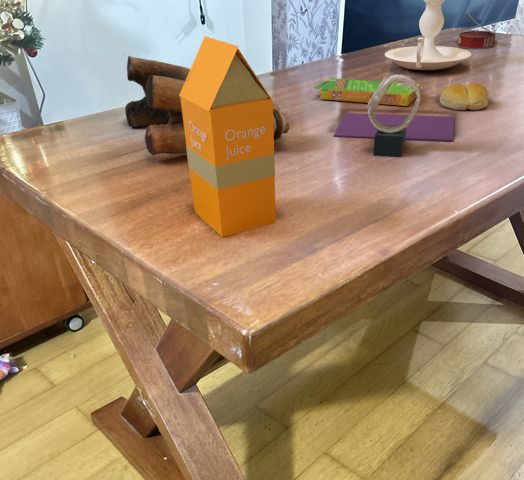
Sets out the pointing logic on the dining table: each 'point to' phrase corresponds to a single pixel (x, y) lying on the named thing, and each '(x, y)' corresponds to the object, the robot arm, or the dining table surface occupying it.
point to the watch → (388, 136)
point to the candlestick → (428, 44)
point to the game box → (366, 91)
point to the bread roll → (465, 97)
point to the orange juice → (229, 140)
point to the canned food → (476, 38)
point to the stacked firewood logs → (168, 106)
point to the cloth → (416, 130)
